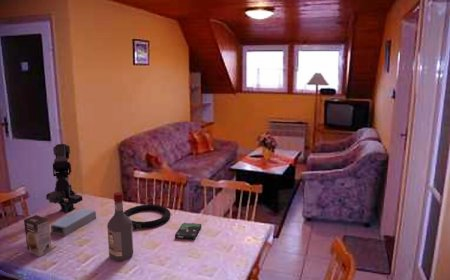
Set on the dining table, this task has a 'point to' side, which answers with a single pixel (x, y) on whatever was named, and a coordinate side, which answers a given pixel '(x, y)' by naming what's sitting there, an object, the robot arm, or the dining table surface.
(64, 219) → the cover
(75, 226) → the grey tray with bar
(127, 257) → the liquor
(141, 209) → the cable lock
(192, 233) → the disk drive
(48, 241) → the coffee box
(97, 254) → the dining table surface
